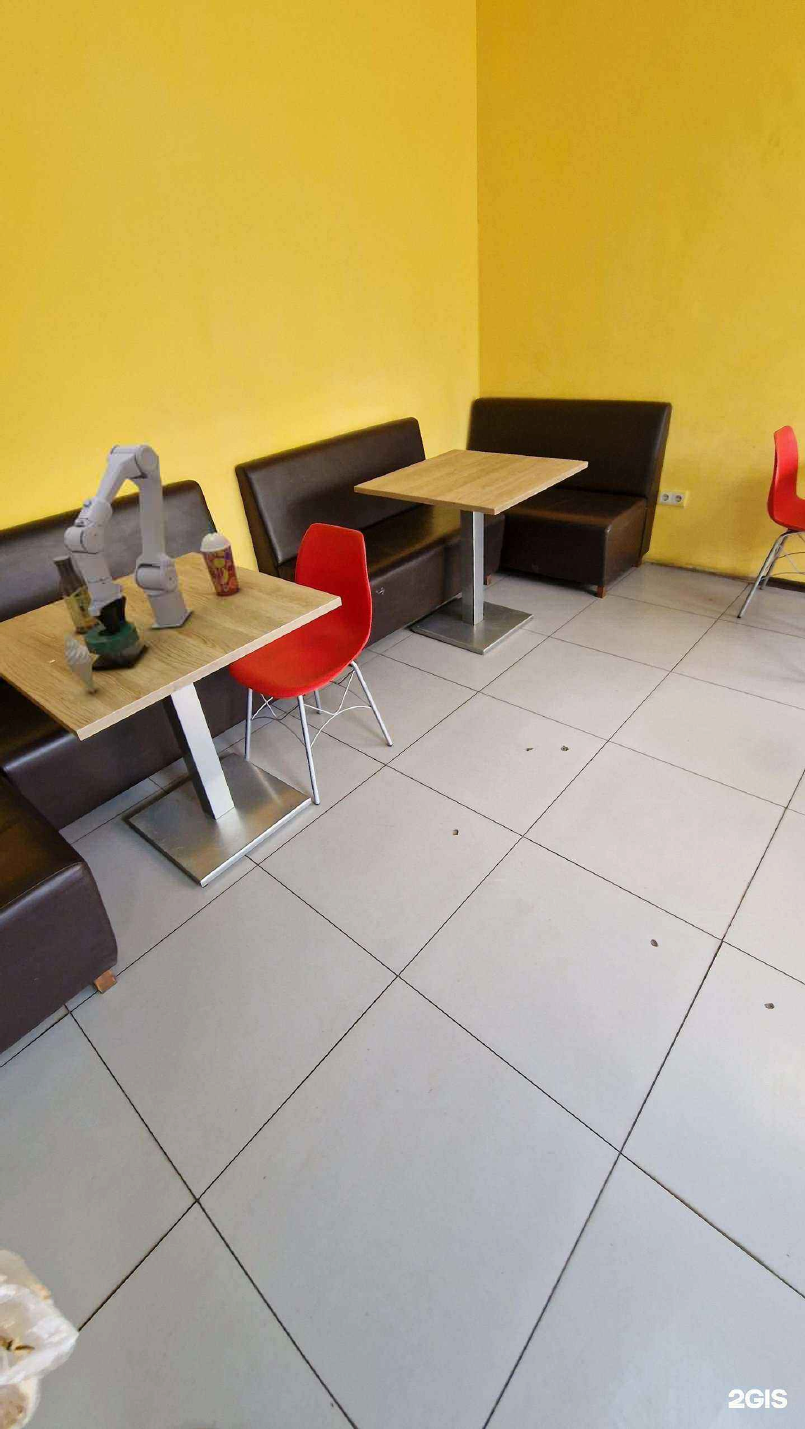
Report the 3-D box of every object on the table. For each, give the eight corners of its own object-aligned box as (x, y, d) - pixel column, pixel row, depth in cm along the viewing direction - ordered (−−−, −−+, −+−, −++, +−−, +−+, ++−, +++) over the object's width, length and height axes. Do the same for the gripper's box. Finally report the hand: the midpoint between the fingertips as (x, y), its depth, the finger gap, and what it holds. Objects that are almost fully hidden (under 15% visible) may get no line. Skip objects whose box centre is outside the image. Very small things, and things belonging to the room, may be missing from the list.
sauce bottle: (92, 633, 168) (62, 562, 157) (72, 633, 170) (41, 563, 159) (106, 623, 174) (78, 553, 163) (87, 623, 175) (58, 554, 164)
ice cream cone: (98, 683, 144) (72, 624, 136) (109, 689, 141) (83, 629, 133) (77, 694, 141) (49, 633, 133) (88, 700, 138) (60, 639, 130)
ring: (101, 634, 157) (96, 622, 155) (146, 630, 156) (141, 618, 154) (80, 656, 147) (74, 644, 145) (127, 652, 146) (122, 640, 144)
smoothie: (212, 589, 186) (193, 522, 175) (240, 583, 188) (223, 516, 177) (214, 599, 180) (194, 530, 168) (243, 593, 181) (225, 524, 170)
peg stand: (108, 651, 158) (100, 631, 155) (147, 648, 157) (139, 627, 154) (91, 671, 150) (82, 650, 147) (131, 667, 149) (123, 647, 146)
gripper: (101, 588, 140) (122, 643, 148) (126, 565, 152) (145, 616, 160) (71, 591, 141) (93, 645, 148) (98, 567, 153) (118, 618, 160)
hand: (118, 630), depth 154 cm, fingers closed on ring, 3 cm apart
